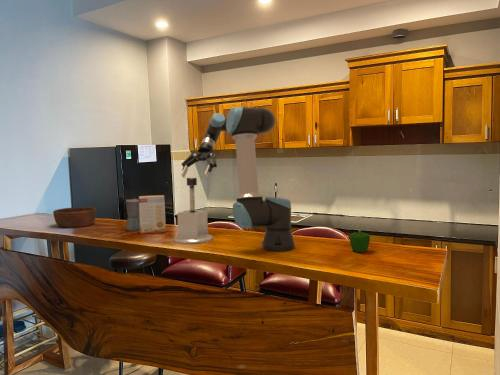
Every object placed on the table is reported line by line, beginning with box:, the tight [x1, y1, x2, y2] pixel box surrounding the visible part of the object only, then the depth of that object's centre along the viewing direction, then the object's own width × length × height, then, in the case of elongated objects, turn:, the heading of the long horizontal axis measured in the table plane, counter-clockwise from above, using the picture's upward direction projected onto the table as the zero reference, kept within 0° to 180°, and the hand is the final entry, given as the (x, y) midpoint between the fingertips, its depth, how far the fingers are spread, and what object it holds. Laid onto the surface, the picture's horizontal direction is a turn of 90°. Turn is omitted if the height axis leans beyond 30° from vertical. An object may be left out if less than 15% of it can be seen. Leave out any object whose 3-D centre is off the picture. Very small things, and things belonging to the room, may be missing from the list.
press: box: [172, 209, 214, 245], centre depth 188 cm, size 20×20×14 cm
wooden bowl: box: [52, 206, 97, 229], centre depth 235 cm, size 25×25×10 cm
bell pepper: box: [349, 229, 371, 253], centre depth 160 cm, size 8×8×10 cm
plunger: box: [186, 177, 198, 212], centre depth 187 cm, size 8×8×22 cm
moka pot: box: [120, 195, 140, 232], centre depth 217 cm, size 10×15×20 cm, turn 78°
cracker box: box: [138, 194, 167, 235], centre depth 208 cm, size 14×6×21 cm, turn 105°
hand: (194, 176), depth 191 cm, fingers open, 13 cm apart
